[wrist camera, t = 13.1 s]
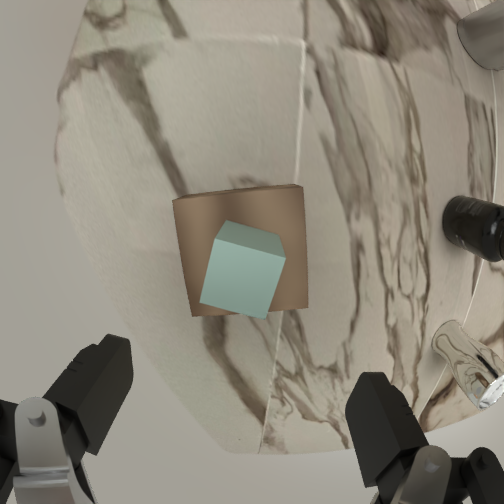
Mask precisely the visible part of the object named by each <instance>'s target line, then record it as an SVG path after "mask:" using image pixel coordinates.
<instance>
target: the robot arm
mask: <svg viewBox="0 0 504 504" xmlns="http://www.w3.org/2000/svg"><path fill="white" fill-rule="evenodd" d="M457 30H458V34H459V37H460V40H461V42H462V44H463V46H464V47H465V49H466V50H467V52H468V53H469V54H470V56H471V57H472V58H473V59H474V60H475V61H476V62H477V63H478V64H479V65H481V66H482V67H484V68H486V69H495V70H496V71H499V70H503V69H504V0H496V1H494V2H492V3H490V4H488V5H487V6H485V7H483V8H481V9H479V10H477V11H476V12H474V13H472V14H470V15H468V16H467V17H465V18H463V19H461V20H460V21H459V22H458V25H457ZM132 382H133V365H132V356H131V345H130V341H129V340H128V339H126V338H122V337H119V336H115V335H111V334H107V335H106V336H105V337H104V339H103V340H102V341H101V342H100V343H99V345H96V344H91V345H89V346H88V347H86V348H84V349H82V350H81V351H80V352H79V353H78V354H77V355H76V357H75V358H74V359H73V361H71V363H70V364H69V365H68V366H67V369H65V370H64V371H63V372H62V374H61V375H60V376H59V377H58V379H57V380H56V381H55V382H54V384H53V385H52V386H51V387H50V388H49V390H48V391H47V392H46V394H45V395H44V396H43V397H42V398H40V397H32V398H28V399H26V400H24V401H22V402H21V403H20V404H16V403H12V402H8V401H4V400H0V504H6V502H7V499H8V497H9V495H10V493H11V491H12V488H13V486H14V492H15V497H16V501H17V504H98V502H97V500H96V497H95V495H94V492H93V490H92V487H91V484H90V482H89V479H88V476H87V473H86V470H85V467H84V464H83V461H82V457H83V455H84V453H85V451H86V452H89V453H91V454H94V455H97V454H98V452H99V449H100V447H101V445H102V443H103V441H104V439H105V437H106V435H107V433H108V431H109V429H110V427H111V425H112V423H113V421H114V419H115V417H116V415H117V413H118V411H119V409H120V407H121V405H122V403H123V402H124V400H125V398H126V396H127V394H128V392H129V390H130V388H131V385H132ZM345 416H346V420H347V423H348V427H349V430H350V434H351V437H352V441H353V444H354V448H355V452H356V455H357V459H358V463H359V466H360V470H361V474H362V478H363V482H364V485H365V488H367V487H373V486H378V490H379V491H378V492H377V493H376V494H375V495H374V497H373V499H372V501H371V503H370V504H463V503H462V501H463V500H465V499H466V498H467V497H468V496H470V497H471V500H472V503H473V504H504V471H503V469H502V467H501V465H500V463H499V461H498V459H497V457H496V455H495V454H494V453H493V452H492V451H491V450H489V449H488V448H484V447H479V448H476V449H475V450H474V451H473V452H472V453H471V454H470V455H469V456H468V457H467V458H451V457H450V456H449V455H448V453H447V452H446V451H445V450H444V449H442V448H440V447H438V446H433V445H429V443H428V441H427V439H426V437H425V435H424V433H423V431H422V429H421V427H420V425H419V423H418V421H417V419H416V417H415V415H413V411H412V410H411V408H410V407H409V404H408V402H407V400H406V398H405V396H404V394H403V393H402V392H400V391H399V390H398V389H397V388H396V387H395V386H394V385H391V384H390V382H389V381H388V379H387V377H386V375H385V374H384V373H383V372H363V373H362V374H361V375H360V377H359V379H358V381H357V383H356V385H355V387H354V389H353V391H352V393H351V395H350V397H349V399H348V401H347V404H346V408H345Z"/></svg>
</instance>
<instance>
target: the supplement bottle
mask: <svg viewBox="0 0 504 504" xmlns="http://www.w3.org/2000/svg"><path fill="white" fill-rule="evenodd" d="M443 225H444V231H445V234H446V236H447V238H448V239H449V240H450V241H451V242H452V243H453V244H455V245H457V246H459V247H461V248H463V249H465V250H467V251H469V252H471V253H473V254H475V255H477V256H479V257H481V258H483V259H485V260H487V261H489V262H498V261H500V260H504V206H502V205H498V204H495V203H491V202H487V201H483V200H479V199H475V198H471V197H466V196H458V197H456V198H454V199H453V200H452V201H451V202H450V203H449V204H448V206H447V208H446V210H445V214H444V220H443Z"/></svg>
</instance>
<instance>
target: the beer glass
mask: <svg viewBox="0 0 504 504" xmlns="http://www.w3.org/2000/svg"><path fill="white" fill-rule="evenodd" d="M432 347H433V350H434V351H435V352H436V353H438V354H439V355H440V356H442V357H443V358H444V359H445V360H446V362H447V363H448V365H449V367H450V369H451V371H452V373H453V375H454V377H455V379H456V381H457V383H458V385H459V387H460V388H461V390H462V391H463V392H464V394H465V395H466V396H467V397H468V399H469V400H470V401H471V402H472V403H473V404H474V405H475V406H476V407H477V409H478V410H480V411H481V410H485V409H487V408H489V407H490V406H491V405H493V404H494V403H495V402H496V401H497V400H498V399H499V398H500V397H501V396H502V395H503V394H504V362H503V361H502V360H501V359H500V358H499V356H498V355H497V354H496V353H494V352H493V351H492V350H491V349H490V348H488V347H487V346H485V345H483V344H482V343H480V342H478V341H477V340H475V339H473V338H472V337H470V336H469V335H468V334H467V333H466V332H465V331H464V330H463V328H462V327H461V325H460V324H459V322H457V321H455V320H452V321H449V322H447V323H445V324H444V325H442V326H441V327H440V328H439V329H438V331H437V332H436V334H435V336H434V338H433V341H432Z"/></svg>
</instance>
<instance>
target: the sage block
mask: <svg viewBox="0 0 504 504" xmlns="http://www.w3.org/2000/svg"><path fill="white" fill-rule="evenodd" d="M285 260H286V256H285V253H284V250H283V246H282V243H281V240H280V237H279V235H278V234H274V233H271V232H267V231H264V230H260V229H257V228H253V227H249V226H246V225H242V224H239V223H235V222H231V221H228V220H226V221H225V223H224V224H223V226H222V227H221V229H220V231H219V232H218V234H217V236H216V237H215V239H214V243H213V247H212V251H211V255H210V259H209V264H208V268H207V272H206V276H205V280H204V285H203V289H202V293H201V298H200V302H199V303H203V304H207V305H210V306H214V307H217V308H221V309H225V310H228V311H232V312H236V313H240V314H244V315H248V316H252V317H256V318H260V319H264V320H265V318H266V315H267V313H268V310H269V307H270V304H271V301H272V298H273V295H274V292H275V289H276V287H277V284H278V281H279V278H280V275H281V272H282V269H283V266H284V263H285Z"/></svg>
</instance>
